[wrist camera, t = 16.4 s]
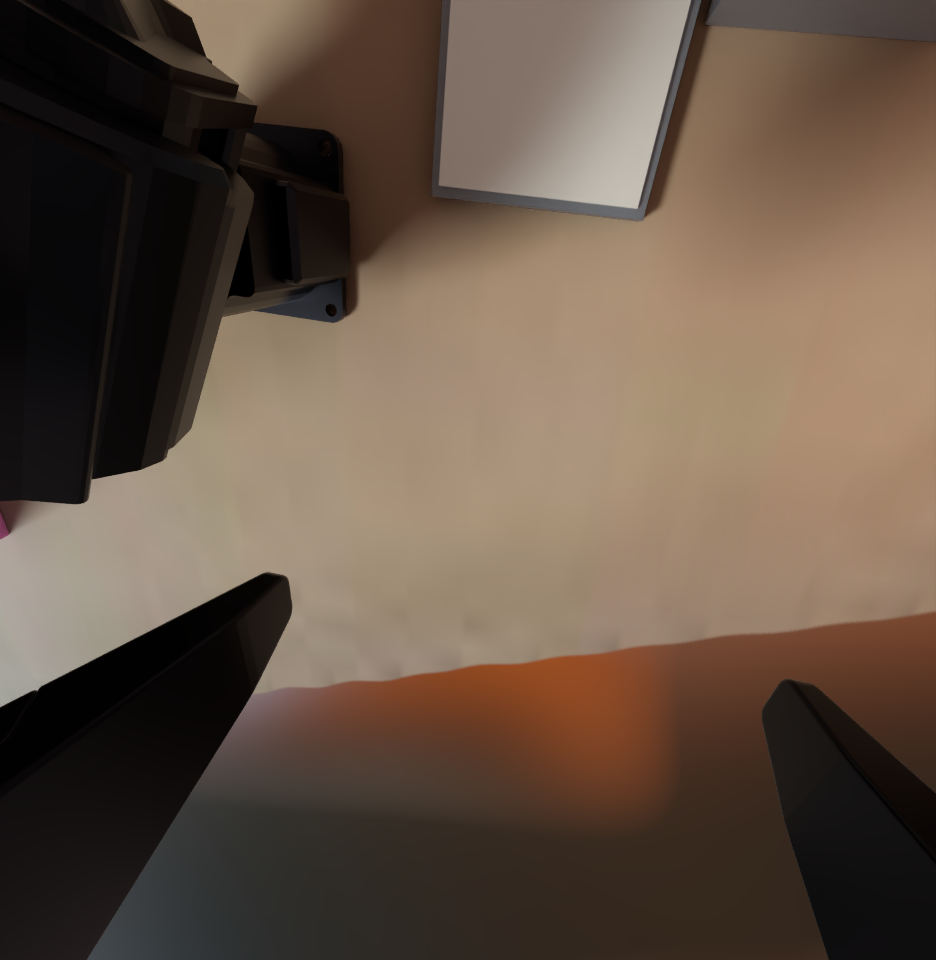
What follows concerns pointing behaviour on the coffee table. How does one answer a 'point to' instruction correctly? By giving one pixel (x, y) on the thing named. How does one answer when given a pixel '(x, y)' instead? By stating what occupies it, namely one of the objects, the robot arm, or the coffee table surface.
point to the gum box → (3, 528)
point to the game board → (557, 101)
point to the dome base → (831, 17)
